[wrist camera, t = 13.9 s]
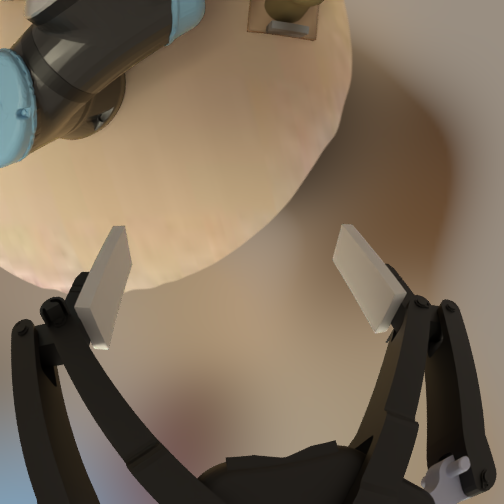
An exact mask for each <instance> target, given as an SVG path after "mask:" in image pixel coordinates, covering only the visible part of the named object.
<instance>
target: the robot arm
mask: <svg viewBox="0 0 504 504" xmlns="http://www.w3.org/2000/svg"><path fill="white" fill-rule="evenodd" d="M204 13H205V0H26V1H25V9H24V17H25V18H26V19H28V20H29V21H30V22H32V23H33V24H32V25H31V26H30V27H29V28H28V29H27V30H26V32H25V33H24V34H23V35H22V36H21V37H20V38H19V39H18V40H17V41H16V43H15V44H14V45H13V46H12V47H11V48H10V49H4V48H3V49H0V168H3V167H6V166H8V165H10V164H12V163H15V162H18V161H21V160H22V159H23V158H25V157H26V156H27V155H29V154H30V153H32V152H34V151H36V150H37V149H39V148H41V147H43V146H45V145H47V144H48V143H50V142H52V141H54V140H56V139H58V138H62V139H67V140H76V139H82V138H85V137H88V136H90V135H92V134H94V133H96V132H98V131H99V130H101V129H102V128H103V127H105V126H106V125H107V124H108V123H109V122H110V121H111V120H112V118H113V117H114V116H115V114H116V113H117V111H118V109H119V107H120V105H121V103H122V100H123V96H124V91H125V76H124V72H126V71H127V70H128V69H130V68H131V67H133V66H134V65H135V64H137V63H138V62H140V61H141V60H143V59H144V58H146V57H147V56H149V55H150V54H152V53H153V52H155V51H156V50H158V49H159V48H161V47H163V46H168V45H170V44H171V43H172V42H173V41H174V39H176V38H178V37H179V36H181V35H182V34H184V33H186V32H187V31H189V30H191V29H193V28H194V27H196V26H197V25H198V24H199V23H200V21H201V19H202V18H203V16H204ZM333 262H334V263H335V265H336V267H337V268H338V270H339V272H340V273H341V275H342V277H343V278H344V280H345V282H346V283H347V285H348V287H349V288H350V290H351V292H352V294H353V295H354V297H355V299H356V301H357V302H358V304H359V306H360V307H361V309H362V311H363V313H364V315H365V316H366V318H367V320H368V322H369V324H370V326H371V327H372V329H373V331H374V333H381V332H386V331H387V329H388V327H389V326H390V324H391V325H392V326H393V328H394V329H393V331H392V332H391V334H390V336H389V338H388V339H387V341H386V343H387V342H388V341H389V343H388V347H387V350H386V354H385V357H384V361H383V364H382V367H381V370H380V373H379V376H378V379H377V382H376V386H375V388H374V391H373V394H372V397H371V399H370V402H369V405H368V407H367V410H366V413H365V415H364V417H363V420H362V422H361V425H360V427H359V430H358V432H357V434H356V436H355V438H354V439H353V440H352V442H351V443H350V445H349V446H348V447H347V446H339V445H337V444H336V441H331V442H327V443H323V444H318V445H314V446H310V447H308V448H306V449H304V450H301V451H299V452H297V453H295V454H293V455H290V456H288V457H284V458H279V457H267V456H257V455H252V456H241V457H228V458H226V462H224V463H221V464H218V465H216V466H214V467H212V468H210V469H209V470H207V471H205V472H204V473H203V474H202V475H200V476H199V477H198V478H196V477H195V476H194V475H192V473H190V472H189V471H188V470H187V469H186V468H185V467H184V466H183V465H182V464H181V463H180V462H179V461H178V460H177V459H176V458H175V457H174V456H173V455H172V454H171V453H170V452H169V451H168V450H167V449H166V448H165V447H164V446H163V445H162V443H160V442H159V441H158V440H157V439H156V437H155V436H154V435H153V434H152V433H151V432H150V431H149V429H148V428H147V427H146V426H145V425H144V423H143V422H142V421H141V420H140V419H139V417H138V416H137V415H136V414H135V413H134V411H133V410H132V409H131V407H130V406H129V405H128V403H127V402H126V401H125V399H124V398H123V397H122V396H121V394H120V393H119V391H118V390H117V389H116V387H115V386H114V384H113V383H112V381H111V380H110V379H109V377H108V376H107V374H106V373H105V371H104V370H103V368H102V367H101V365H100V363H99V362H98V360H97V359H96V358H95V356H94V354H93V352H92V351H91V349H90V347H89V344H90V341H91V343H92V345H93V347H94V349H106V350H108V349H109V346H110V341H111V337H112V333H113V329H114V325H115V321H116V317H117V314H118V310H119V306H120V303H121V299H122V296H123V292H124V289H125V286H126V282H127V279H128V276H129V273H130V270H131V267H132V261H131V256H130V251H129V246H128V240H127V234H126V229H125V226H113V227H112V229H111V231H110V233H109V235H108V237H107V238H106V240H105V242H104V244H103V246H102V248H101V250H100V252H99V254H98V256H97V258H96V260H95V262H94V264H93V266H92V268H91V270H90V272H81V273H80V274H79V275H78V276H77V277H76V278H75V280H74V282H73V284H72V287H71V289H70V291H69V293H68V295H67V297H66V300H64V299H63V298H61V297H53V298H50V299H48V300H46V301H45V302H44V303H43V304H42V306H41V308H40V315H41V317H42V318H43V320H44V322H45V324H42V325H38V326H34V324H33V323H32V321H31V320H28V319H24V320H21V321H19V322H18V323H16V324H15V326H14V327H13V329H12V335H11V337H12V338H11V365H12V384H13V396H14V405H15V412H16V420H17V426H18V432H19V437H20V442H21V446H22V451H23V455H24V459H25V463H26V467H27V471H28V474H29V478H30V481H31V484H32V487H33V490H34V493H35V496H36V498H37V504H100V502H99V500H98V498H97V495H96V493H95V491H94V488H93V486H92V484H91V481H90V479H89V477H88V474H87V472H86V469H85V467H84V464H83V462H82V459H81V456H80V453H79V451H78V448H77V445H76V442H75V439H74V436H73V432H72V429H71V426H70V422H69V419H68V415H67V412H66V407H65V403H64V399H63V395H62V390H61V385H60V381H59V375H58V369H57V365H63V364H64V366H65V368H66V370H67V372H68V374H69V376H70V377H71V380H72V381H73V383H74V385H75V387H76V389H77V391H78V393H79V394H80V396H81V398H82V400H83V401H84V403H85V405H86V406H87V408H88V410H89V411H90V413H91V415H92V416H93V417H94V419H95V421H96V422H97V424H98V425H99V427H100V428H101V430H102V431H103V433H104V434H105V436H106V437H107V439H108V440H109V441H110V443H111V444H112V446H113V447H114V448H115V449H116V451H117V452H118V454H119V455H120V456H121V458H122V459H123V460H124V462H125V463H126V466H127V468H128V469H129V471H130V472H131V473H132V474H133V476H134V477H135V478H136V479H137V480H138V482H139V483H140V484H141V485H142V486H143V487H144V488H145V489H146V490H147V492H148V493H149V494H150V495H151V496H152V497H153V498H154V499H155V500H156V501H157V502H158V503H159V504H457V503H459V502H460V501H463V500H466V499H468V498H471V497H473V496H475V495H478V494H480V493H483V492H485V491H487V490H489V489H490V488H491V487H492V486H493V485H494V483H495V480H496V468H495V464H494V461H493V457H492V454H491V451H490V448H489V445H488V442H487V439H486V436H485V429H484V418H483V409H482V402H481V396H480V389H479V384H478V378H477V373H476V369H475V364H474V360H473V355H472V351H471V347H470V343H469V339H468V336H467V332H466V329H465V325H464V322H463V319H462V316H461V313H460V310H459V308H458V306H457V305H456V304H455V303H454V302H453V301H450V300H446V299H445V300H443V301H442V302H441V304H440V306H434V305H431V304H430V303H429V301H428V300H427V299H425V298H424V297H422V296H419V295H414V294H413V293H412V291H411V290H410V288H409V287H408V286H407V285H406V283H405V282H404V281H403V280H402V278H401V277H400V276H399V274H398V273H397V272H396V270H395V269H394V268H393V267H391V266H390V265H389V264H384V262H383V261H382V260H381V259H380V257H379V256H378V255H377V254H376V252H375V251H374V250H373V249H372V247H371V246H370V245H369V244H368V243H367V241H366V240H365V239H364V238H363V237H362V236H361V234H360V233H359V232H358V231H357V230H356V228H355V227H354V226H353V225H352V224H342V225H341V229H340V233H339V237H338V241H337V245H336V249H335V252H334V256H333ZM424 370H425V382H426V397H427V467H428V471H427V473H426V476H425V477H423V479H422V481H421V485H422V487H423V488H424V489H422V488H420V487H418V486H417V485H415V484H413V483H411V482H409V481H408V480H406V479H404V478H403V477H404V475H405V472H406V469H407V466H408V463H409V460H410V457H411V454H412V450H413V447H414V444H415V440H416V437H417V432H418V428H419V424H418V422H415V414H416V410H417V406H418V402H419V397H420V392H421V387H422V382H423V376H424Z"/></svg>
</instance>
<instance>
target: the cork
mask: <svg viewBox="0 0 504 504" xmlns="http://www.w3.org/2000/svg"><path fill="white" fill-rule="evenodd" d="M323 1H324V0H265V4H264V7H265V10H266V12H267V13H268V15H269V16H270V17H271V18H273V19H274V20H276V21H281V22H287V23H294V22H296V21H298V20H300V19H301V18H302V17H303V16H304V14H305V13H306V12H307V10H308V9H309V8H310V7H313V6H316V5H319V4H320V3H322V2H323Z"/></svg>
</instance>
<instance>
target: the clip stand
mask: <svg viewBox="0 0 504 504" xmlns="http://www.w3.org/2000/svg"><path fill="white" fill-rule="evenodd" d="M264 4H265V0H250V6H249V17H248V28H247V32H257V33H267V34H275V35H282V36H289V37H295V38H301V39H306V40H311V41H314V40H316V33H317V21H318V8H319V5H316V6H313V7H310V8H309V9H308V10H307V12H306V13H305V14H304V16H303V17H302V18H301V19H300V20H298V21H296V22H294V23H287V22H281V21H276V20H274V19H273V18H271V17H270V16H269V15H268V13H267V12H266V10H265V7H264Z"/></svg>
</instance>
